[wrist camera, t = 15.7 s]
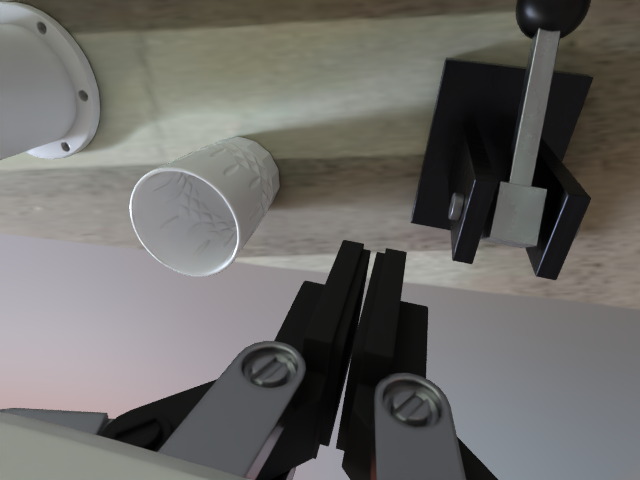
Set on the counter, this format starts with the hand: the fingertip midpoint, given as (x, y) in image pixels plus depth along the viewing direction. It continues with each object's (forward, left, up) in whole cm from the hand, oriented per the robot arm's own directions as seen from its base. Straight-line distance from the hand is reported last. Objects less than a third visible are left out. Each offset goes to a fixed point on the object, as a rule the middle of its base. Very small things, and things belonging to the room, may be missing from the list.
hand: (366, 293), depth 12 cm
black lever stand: (+6, -2, -23) cm, 24 cm away
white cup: (-13, -7, -23) cm, 28 cm away
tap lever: (+6, +2, -16) cm, 18 cm away
